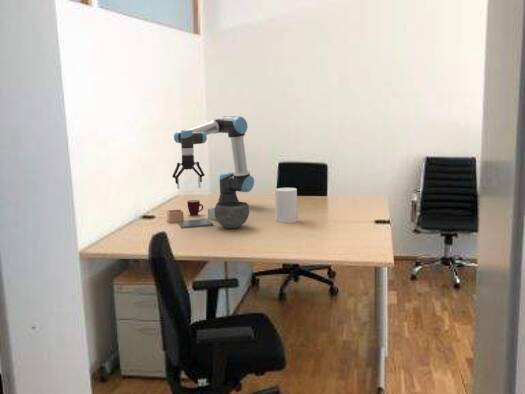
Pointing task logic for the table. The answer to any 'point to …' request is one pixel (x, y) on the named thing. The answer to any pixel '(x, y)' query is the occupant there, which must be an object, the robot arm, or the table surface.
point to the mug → (194, 207)
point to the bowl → (231, 213)
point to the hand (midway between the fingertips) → (189, 188)
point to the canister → (286, 205)
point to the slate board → (195, 223)
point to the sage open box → (211, 214)
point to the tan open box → (175, 215)
